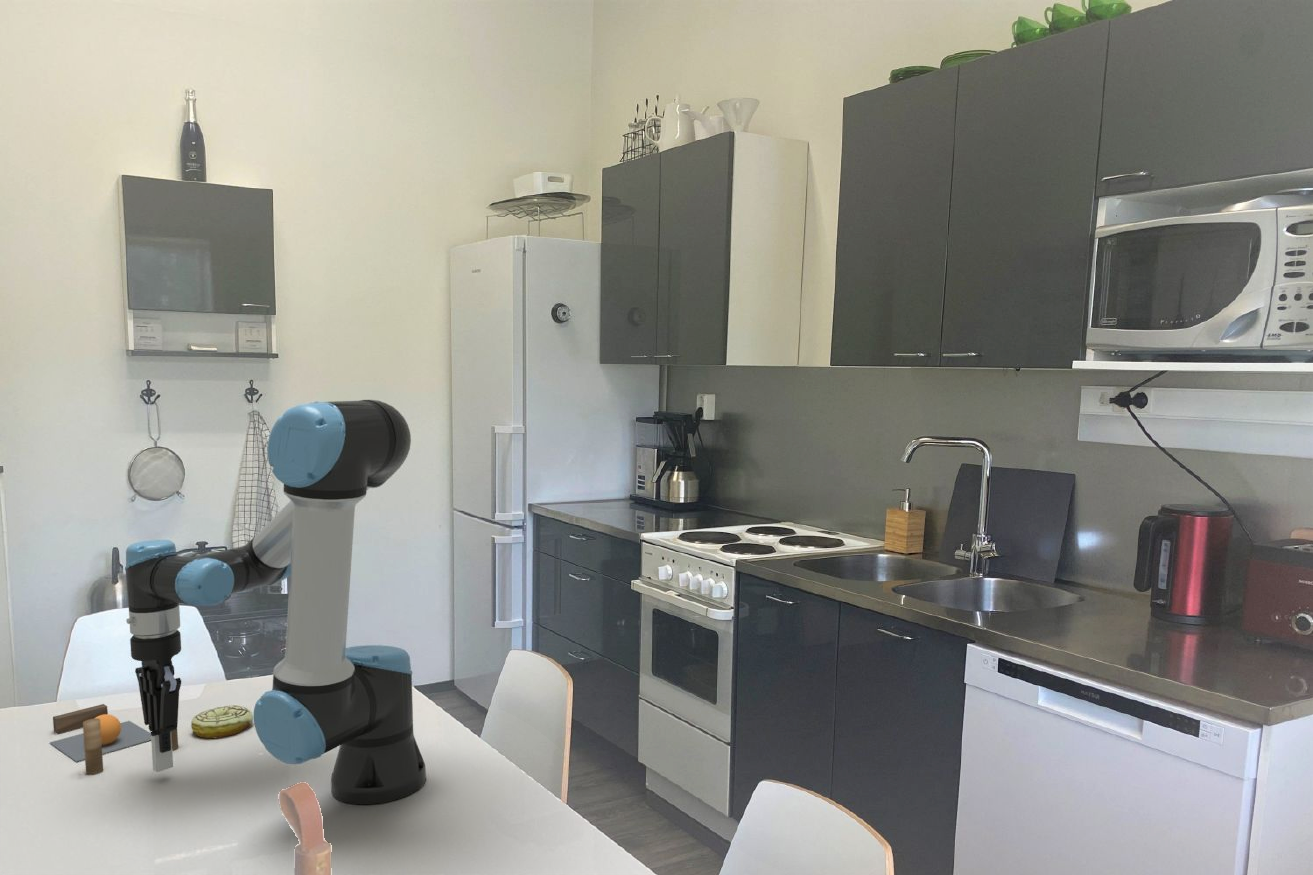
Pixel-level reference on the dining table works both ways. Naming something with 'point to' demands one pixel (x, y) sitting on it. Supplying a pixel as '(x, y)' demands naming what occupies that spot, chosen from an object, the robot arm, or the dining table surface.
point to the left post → (93, 746)
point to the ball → (109, 728)
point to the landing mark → (127, 738)
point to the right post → (174, 739)
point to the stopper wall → (77, 718)
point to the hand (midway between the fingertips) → (163, 768)
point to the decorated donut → (221, 721)
